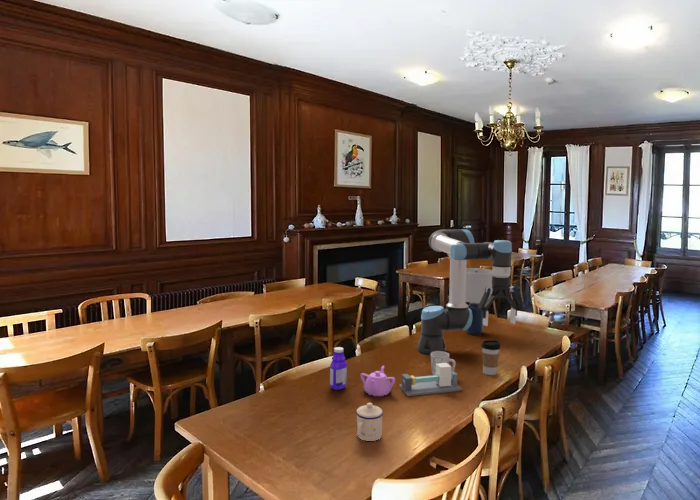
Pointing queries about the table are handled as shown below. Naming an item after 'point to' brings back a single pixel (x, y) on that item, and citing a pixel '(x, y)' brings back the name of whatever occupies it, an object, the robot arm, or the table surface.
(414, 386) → the slider rail
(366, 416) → the teacup with lid
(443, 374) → the white slider block
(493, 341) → the coffee cup
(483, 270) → the lamp
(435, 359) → the mug
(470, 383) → the table surface
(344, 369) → the bottle
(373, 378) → the teapot
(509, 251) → the robot arm
